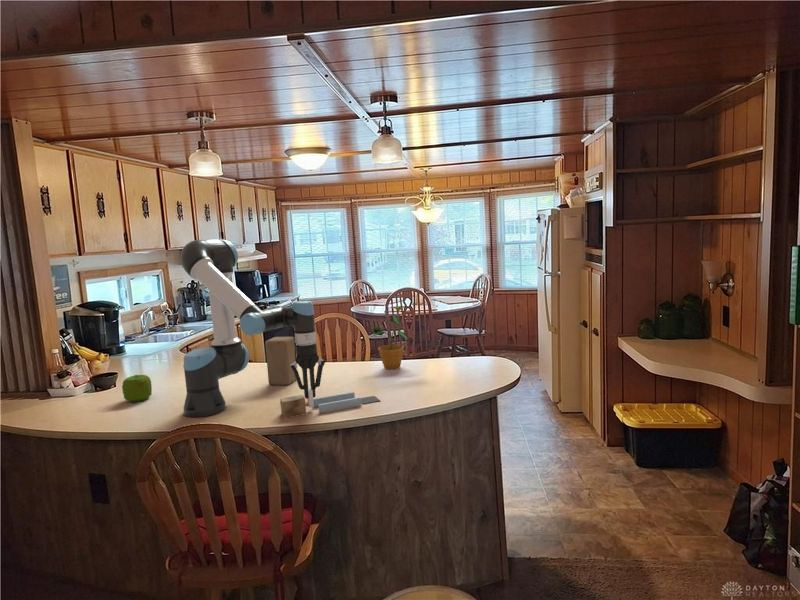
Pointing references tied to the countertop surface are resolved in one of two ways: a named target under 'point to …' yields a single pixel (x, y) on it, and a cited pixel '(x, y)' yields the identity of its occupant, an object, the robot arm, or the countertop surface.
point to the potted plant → (391, 346)
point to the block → (293, 406)
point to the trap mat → (369, 400)
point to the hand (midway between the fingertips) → (310, 406)
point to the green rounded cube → (137, 388)
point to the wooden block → (280, 360)
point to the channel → (337, 402)
